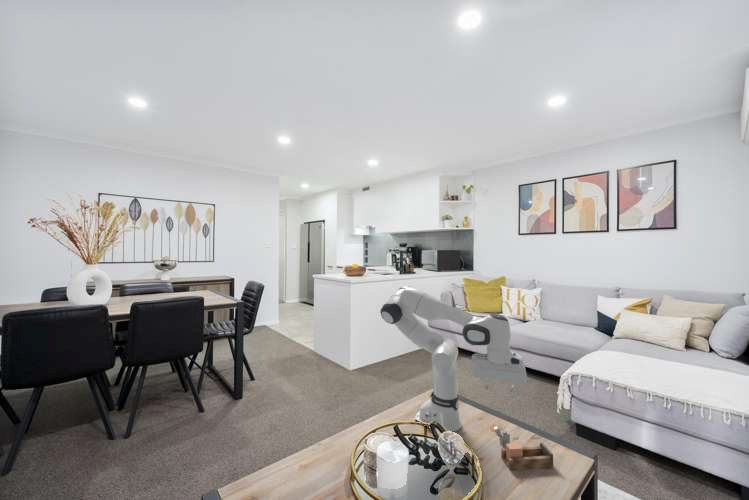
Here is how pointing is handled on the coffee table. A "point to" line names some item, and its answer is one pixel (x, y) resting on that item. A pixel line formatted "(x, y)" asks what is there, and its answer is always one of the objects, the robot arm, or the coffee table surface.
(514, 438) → the coffee table surface
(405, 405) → the coffee table surface
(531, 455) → the brown wooden open box
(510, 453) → the block
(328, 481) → the coffee table surface
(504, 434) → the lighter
